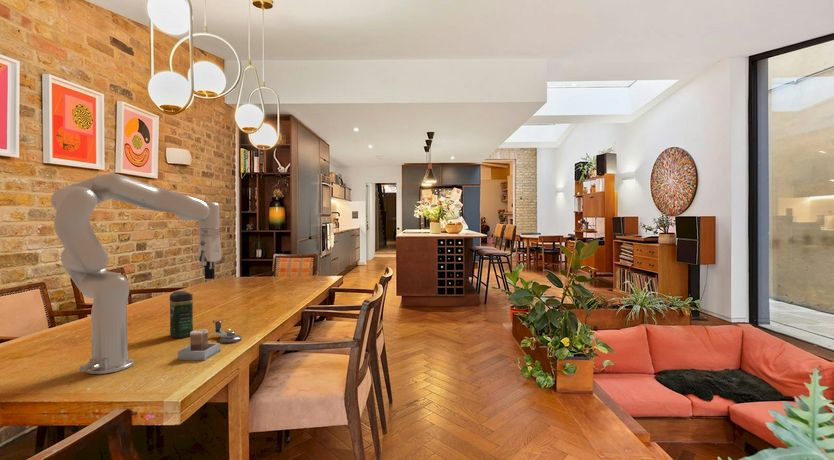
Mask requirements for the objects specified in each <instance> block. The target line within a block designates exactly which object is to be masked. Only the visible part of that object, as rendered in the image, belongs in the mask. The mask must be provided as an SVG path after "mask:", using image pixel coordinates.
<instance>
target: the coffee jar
mask: <svg viewBox="0 0 834 460" xmlns="http://www.w3.org/2000/svg"><path fill="white" fill-rule="evenodd" d="M193 297H194V296H193V293H191V292H189V291H188V292H187V291H185V290H177V291H173V292H172V293H171V294H170V296H169V307H170V309H169V318H170V320H169V334H170V337H172V338H176V339H177V338H178V339H179V338H181V339H182V338H187V337H190V332H192V331H194V323H193V321H194V314H193V312H194V308H193V305H194V304H193V303H194V300H193V299H194V298H193Z"/></svg>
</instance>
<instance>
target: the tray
mask: <svg viewBox="0 0 834 460" xmlns="http://www.w3.org/2000/svg"><path fill="white" fill-rule="evenodd" d="M219 352H221V343H220V342H208V349H207V350H205V351H191V345H190V344H189V345H187V346H184V347H183V348H181V349H179V350H177V360H179V361H180V360H181V361H184V360H185V361H206V360H208V359H210V358H212V357H213V356H215V355H216V354H219Z"/></svg>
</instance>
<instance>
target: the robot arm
mask: <svg viewBox="0 0 834 460" xmlns="http://www.w3.org/2000/svg"><path fill="white" fill-rule="evenodd" d="M108 200H114V201H117V202H120V203H125V204H129V205H131V206H134V207H138V208H140V209H144V210H147V211H153V212H163V213H164V212H165V213H171V214H174V215H175V216H176V217H177V218H178V219H179V220H182V221H189V222H190V221H197V222H198V237H199V238H198V244H197V245H198V247H197V255H198V256H197V258H198V261H199V262H200V265H201V266H203V269H204V279H205V280H213V279H215V277H216V276H215V275H216V274H215V271H216V270H215V268H216V265H217V263H218V262H219V261H221V260H222V257H223V256H222V242H221V241H222V240H221V236H220V234H221V233H220V230H221V229H220V226H221V225H220V221H221V220H220V204H219V203H218V202H216V201H215V202H214V201H203V200H201V199H199V198H195V197H193V196H190V195H186V194H184V193H183V194H182V193H179V192H176V191H173V190H172V191H171V190H168V189H166V188H162V187H157V186H155V185H151V184H149V183H146V182H143V181H140V180H137V179H135V178H132V177H128V176H125V175H124V174H118V173H107V174H101V175H96V176H94V177H91V178H88V179H85V180H83V181H80V182H76V183H72V184H70V185H67V186H64V187H61V188H58V189H57V190H56V191H54V192H53V193H52V194H51V198H50V202H51V203H50V204H51V206H52V207H53V208H54V210H56V211H55V215H54V219H53V227H54V231H55V233H56V235H57V237H58V239H59V241H60V243H61V245H62V246H63V248H64V249H63V251H62V252H61V255H60V259H61V260H60V261H61V264H62V267H63V269H64V270H65V271H66V273H67V274H68V276H69V277H70V279H71V280H72V282H73V283H74V285H75V286H76V287H77V289H78V290H79V291H80V292H81V293H82V295H84V296H86V297H88V298H91V299H92V300H93V302H92V307H91V313H90V314H91V315H90V323H91V325H90V328H91V331H90V332H91V357H90V358H89V361H88V363H86V364H83V365H81V366H79V369H78V370H79V372H81V373H85V372H86V373H87V374H91V375H104V374H112V373H115V372H120V371H123V370H126V369H128V368H130V367H132V366H133V365H134V364H135V363H134V359H133V358H132V357H131V358H130V357H129V345H128V344H129V343H128V302H129V295H130V283H129V281H128V279H127V278H126V277H125V276H124V275H123V274H121V273H119V272H114V271H108V270H107V266H108V264H109V261H110V257H109V255H108V252H107V251H106V249H105V248H104V246H103V244H102V243H101V242H100V239H99V238H98V236H97V235H96V232H95V231H94V229H93V228H92V225H91V215H92V213H93V211H94V210H95V208H97V205H98V204H100V203H103V202H105V201H108Z"/></svg>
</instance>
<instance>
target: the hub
mask: <svg viewBox="0 0 834 460" xmlns="http://www.w3.org/2000/svg"><path fill="white" fill-rule="evenodd" d="M241 341H242V335H240V334H235V337H232V338H226V337H221V336H220V338H219V343H220V344H235V343H238V342H241Z"/></svg>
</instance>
